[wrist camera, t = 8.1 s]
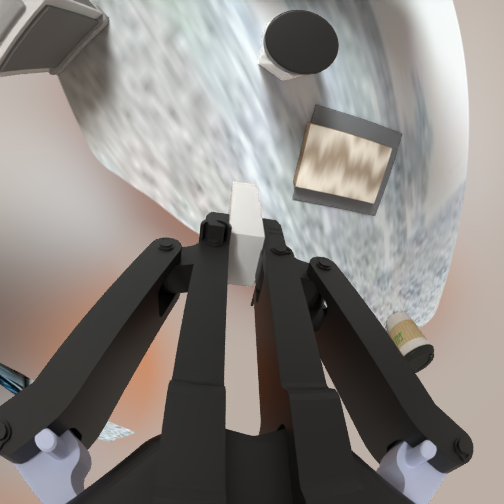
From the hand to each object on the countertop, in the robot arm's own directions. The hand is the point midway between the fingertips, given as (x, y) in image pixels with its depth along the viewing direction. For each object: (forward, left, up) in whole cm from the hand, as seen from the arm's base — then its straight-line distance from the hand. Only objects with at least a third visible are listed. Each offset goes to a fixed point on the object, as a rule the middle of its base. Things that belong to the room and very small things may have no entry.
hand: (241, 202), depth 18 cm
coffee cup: (+35, +46, -27) cm, 63 cm away
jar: (-14, +4, -27) cm, 30 cm away
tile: (+1, +9, -25) cm, 26 cm away
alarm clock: (-20, -35, -27) cm, 48 cm away
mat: (+1, +18, -26) cm, 32 cm away
